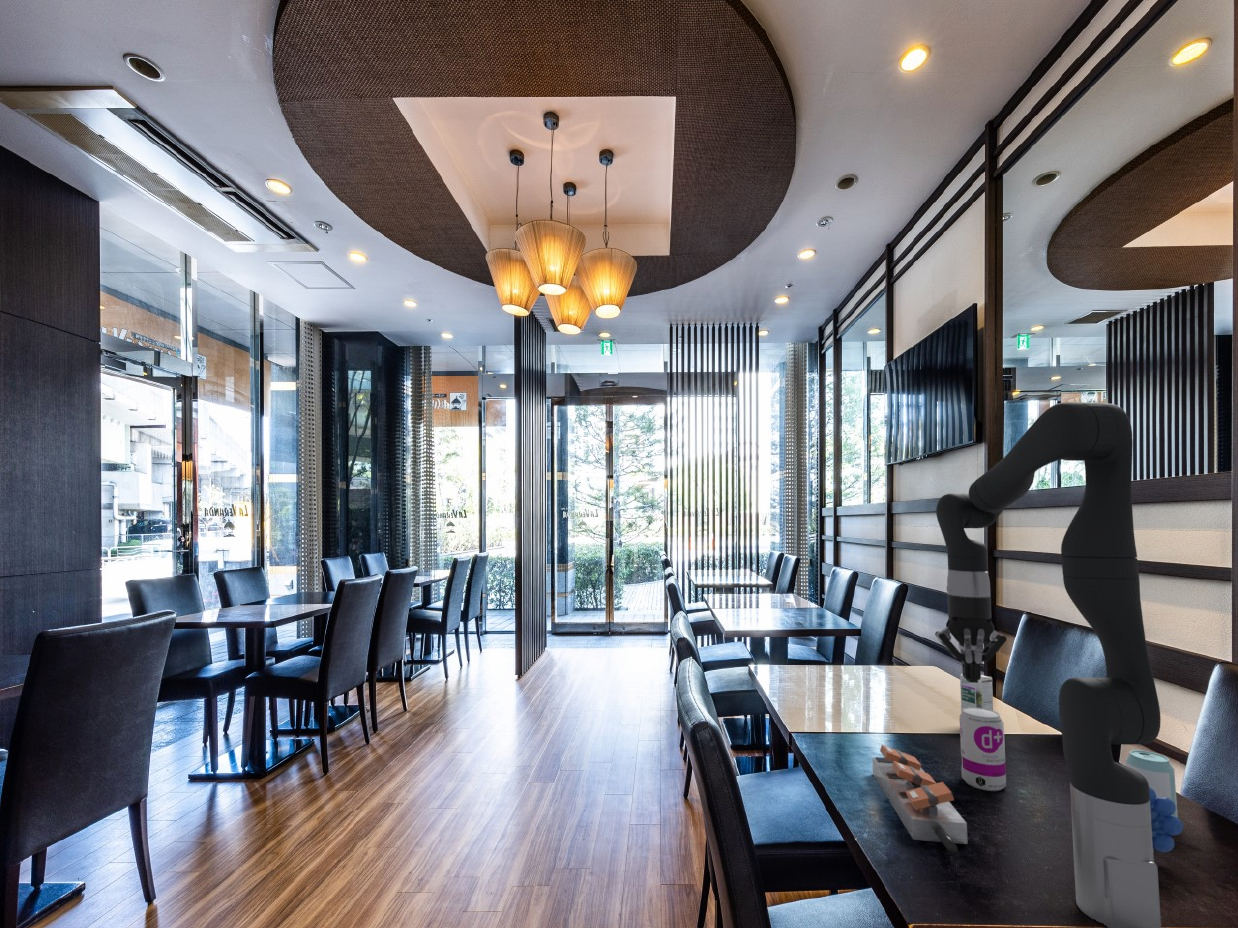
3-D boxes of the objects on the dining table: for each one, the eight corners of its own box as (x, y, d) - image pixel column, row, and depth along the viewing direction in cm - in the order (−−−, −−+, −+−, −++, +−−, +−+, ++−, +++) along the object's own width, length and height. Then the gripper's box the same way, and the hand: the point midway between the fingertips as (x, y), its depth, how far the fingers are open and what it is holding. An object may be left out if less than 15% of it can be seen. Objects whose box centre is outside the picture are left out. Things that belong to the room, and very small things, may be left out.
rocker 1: (919, 772, 128) (921, 764, 128) (885, 759, 130) (887, 751, 130) (912, 763, 133) (914, 755, 133) (879, 751, 134) (882, 743, 134)
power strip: (982, 862, 101) (981, 834, 102) (924, 857, 103) (923, 829, 103) (915, 776, 135) (914, 755, 135) (872, 773, 136) (872, 752, 137)
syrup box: (960, 728, 167) (958, 673, 168) (975, 725, 169) (972, 671, 170) (980, 735, 162) (978, 678, 163) (995, 731, 164) (992, 676, 165)
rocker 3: (954, 801, 111) (951, 790, 111) (916, 810, 112) (912, 800, 112) (945, 790, 115) (942, 780, 115) (908, 799, 116) (905, 789, 116)
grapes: (1176, 854, 104) (1172, 781, 105) (1191, 875, 98) (1185, 797, 99) (1092, 837, 110) (1088, 768, 111) (1100, 856, 104) (1096, 782, 105)
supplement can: (1013, 793, 127) (1009, 719, 128) (969, 790, 129) (966, 716, 130) (997, 777, 135) (994, 707, 136) (956, 774, 137) (954, 705, 138)
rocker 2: (934, 791, 120) (936, 782, 120) (897, 777, 121) (900, 768, 121) (926, 781, 124) (929, 773, 124) (891, 768, 125) (894, 759, 125)
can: (1120, 815, 118) (1116, 751, 119) (1143, 809, 121) (1139, 746, 122) (1163, 832, 112) (1159, 764, 113) (1187, 826, 114) (1182, 759, 115)
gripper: (939, 594, 120) (943, 685, 119) (1013, 596, 118) (1017, 688, 117) (927, 589, 127) (929, 675, 126) (995, 591, 125) (999, 678, 124)
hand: (972, 681), depth 121 cm, fingers closed
